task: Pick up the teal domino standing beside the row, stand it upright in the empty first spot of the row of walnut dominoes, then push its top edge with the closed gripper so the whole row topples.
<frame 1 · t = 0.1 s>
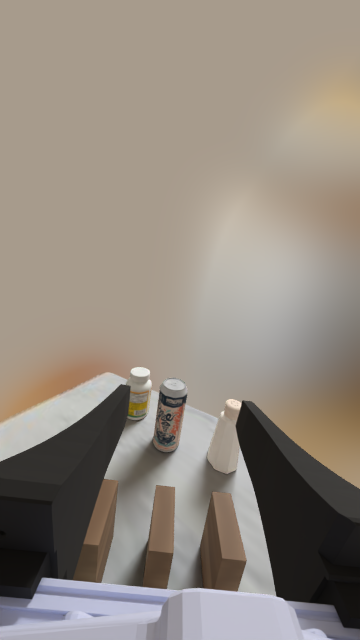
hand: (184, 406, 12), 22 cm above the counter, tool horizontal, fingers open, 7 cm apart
walnut domino 2: (212, 580, 20), on the counter
beer can: (165, 443, 35), on the counter
supplement bottle: (135, 412, 42), on the counter
walnut domino 3: (153, 574, 20), on the counter
walnut domino 4: (94, 568, 19), on the counter
pepper shaker: (221, 460, 34), on the counter
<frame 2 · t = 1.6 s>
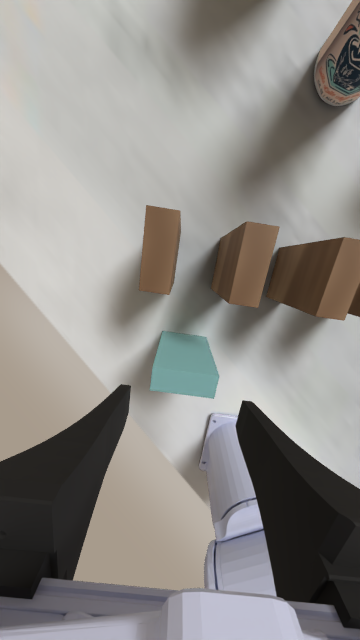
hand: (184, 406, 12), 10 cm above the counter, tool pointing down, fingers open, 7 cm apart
walnut domino 5: (167, 256, 20), on the counter
walnut domino 2: (337, 283, 20), on the counter
teal domino: (183, 342, 22), on the counter
beer can: (338, 75, 16), on the counter
walnut domino 3: (281, 274, 20), on the counter
walnut domino 4: (225, 265, 20), on the counter
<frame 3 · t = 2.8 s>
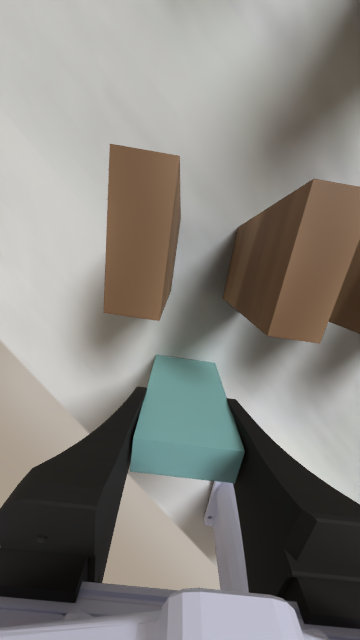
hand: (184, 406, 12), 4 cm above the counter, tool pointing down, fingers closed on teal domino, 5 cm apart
walnut domino 5: (161, 254, 14), on the counter
teal domino: (183, 369, 16), on the counter, touching gripper
walnut domino 3: (322, 279, 14), on the counter
walnut domino 4: (243, 266, 14), on the counter
when the fingers open (5 cm above the counter, at t = 8.3 s): teal domino moves 2 cm and tips over, resting on walnut domino 2.
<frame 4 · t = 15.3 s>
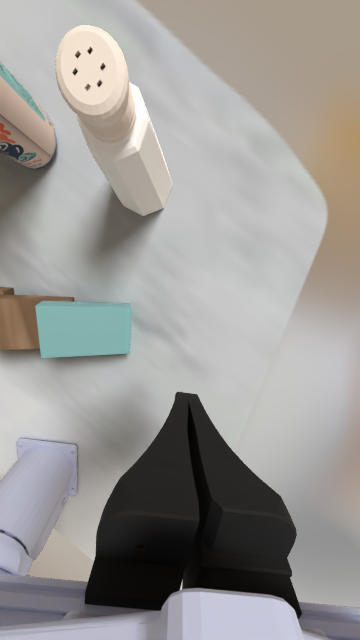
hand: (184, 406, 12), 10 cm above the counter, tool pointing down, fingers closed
walnut domino 2: (73, 322, 21), point 1 cm above the counter, tilted 72°, touching teal domino, walnut domino 3
teal domino: (129, 328, 21), point 1 cm above the counter, tilted 71°, touching walnut domino 2
beer can: (33, 140, 17), on the counter
walnut domino 3: (11, 312, 20), point 1 cm above the counter, tilted 73°, touching walnut domino 2, walnut domino 4
pepper shaker: (144, 184, 18), on the counter
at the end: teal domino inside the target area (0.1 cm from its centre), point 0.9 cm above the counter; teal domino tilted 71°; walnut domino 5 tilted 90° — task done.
